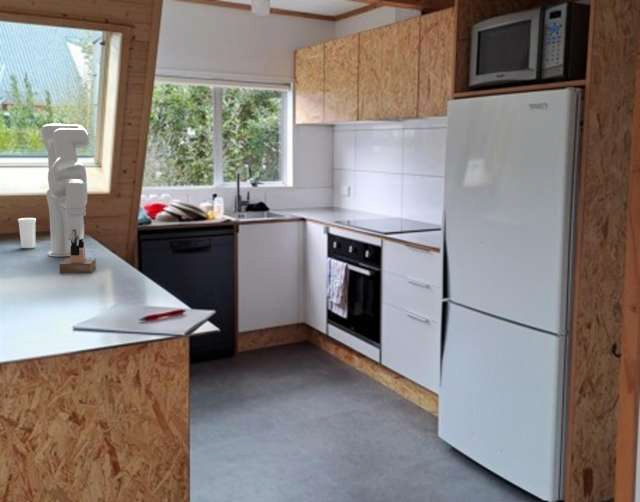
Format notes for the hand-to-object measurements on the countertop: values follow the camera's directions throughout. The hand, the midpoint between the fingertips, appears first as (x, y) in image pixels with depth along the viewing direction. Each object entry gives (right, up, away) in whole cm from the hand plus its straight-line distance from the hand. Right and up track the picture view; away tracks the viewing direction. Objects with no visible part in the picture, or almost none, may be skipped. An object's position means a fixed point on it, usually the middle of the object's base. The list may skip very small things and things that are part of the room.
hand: (77, 253), depth 272 cm
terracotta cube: (0, -3, +1) cm, 3 cm away
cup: (-43, +2, +51) cm, 66 cm away
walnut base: (0, -7, +1) cm, 7 cm away
